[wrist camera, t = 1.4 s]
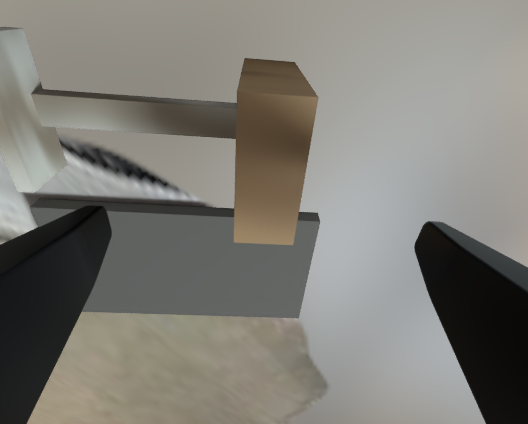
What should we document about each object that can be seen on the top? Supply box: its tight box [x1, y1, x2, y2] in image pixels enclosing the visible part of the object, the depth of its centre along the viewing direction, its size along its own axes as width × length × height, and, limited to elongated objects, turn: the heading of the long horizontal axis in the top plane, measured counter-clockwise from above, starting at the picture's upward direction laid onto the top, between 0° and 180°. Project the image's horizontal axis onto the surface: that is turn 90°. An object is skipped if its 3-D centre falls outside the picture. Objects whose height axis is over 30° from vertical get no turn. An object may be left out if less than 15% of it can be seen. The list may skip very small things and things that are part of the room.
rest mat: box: [30, 199, 320, 318], centre depth 22 cm, size 10×18×1 cm, turn 86°
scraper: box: [0, 27, 318, 245], centre depth 13 cm, size 7×14×7 cm, turn 86°
